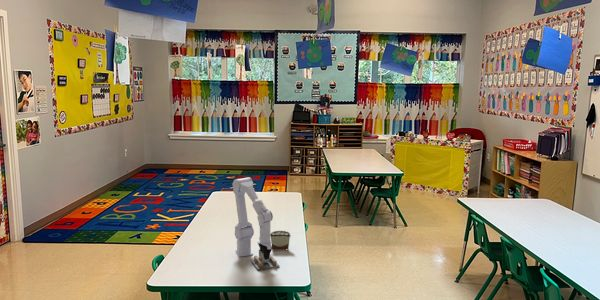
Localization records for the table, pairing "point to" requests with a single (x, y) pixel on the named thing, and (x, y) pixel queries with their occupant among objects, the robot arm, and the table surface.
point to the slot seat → (264, 266)
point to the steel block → (261, 257)
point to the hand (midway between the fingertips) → (265, 257)
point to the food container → (280, 240)
